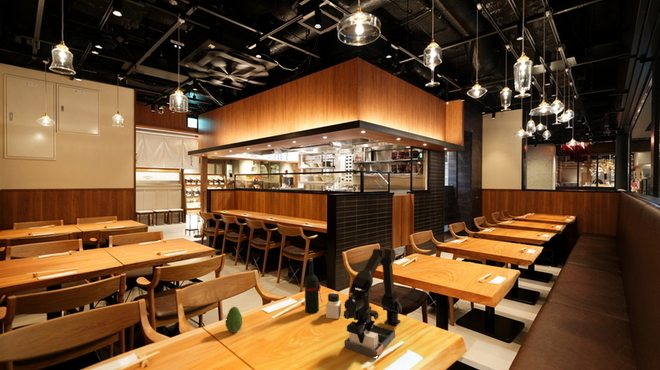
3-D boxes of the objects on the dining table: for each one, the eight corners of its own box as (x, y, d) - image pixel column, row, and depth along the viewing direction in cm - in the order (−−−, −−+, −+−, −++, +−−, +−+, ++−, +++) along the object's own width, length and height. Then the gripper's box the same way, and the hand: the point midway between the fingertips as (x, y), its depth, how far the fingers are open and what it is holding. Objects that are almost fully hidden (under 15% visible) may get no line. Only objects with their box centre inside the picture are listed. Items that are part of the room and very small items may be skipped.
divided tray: (366, 328, 143) (366, 322, 143) (395, 337, 134) (395, 330, 134) (344, 347, 126) (344, 340, 126) (376, 359, 117) (376, 352, 117)
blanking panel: (354, 337, 130) (353, 326, 130) (378, 345, 123) (378, 333, 123) (349, 341, 126) (349, 330, 126) (374, 350, 120) (373, 338, 120)
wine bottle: (322, 313, 160) (321, 260, 160) (304, 314, 160) (303, 260, 160) (323, 307, 168) (322, 256, 168) (305, 308, 168) (304, 256, 168)
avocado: (237, 326, 147) (237, 302, 147) (245, 331, 142) (244, 307, 142) (222, 331, 142) (222, 307, 142) (229, 337, 136) (229, 312, 136)
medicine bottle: (339, 319, 153) (338, 296, 153) (326, 318, 154) (325, 295, 154) (341, 313, 160) (340, 291, 160) (328, 312, 161) (328, 291, 161)
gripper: (357, 294, 137) (357, 326, 137) (335, 308, 122) (336, 345, 122) (378, 299, 131) (379, 333, 131) (358, 314, 115) (359, 353, 115)
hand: (363, 340), depth 125 cm, fingers closed on blanking panel, 4 cm apart
